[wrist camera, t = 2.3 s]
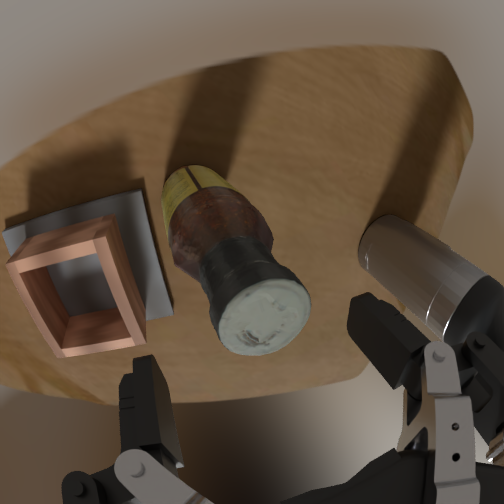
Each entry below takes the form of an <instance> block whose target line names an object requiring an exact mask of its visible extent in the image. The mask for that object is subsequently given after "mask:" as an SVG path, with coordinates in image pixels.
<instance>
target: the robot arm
mask: <svg viewBox="0 0 504 504" xmlns="http://www.w3.org/2000/svg"><path fill="white" fill-rule="evenodd" d="M358 257H359V262H360V264H361V266H362V267H363V268H364V269H365V270H366V271H367V272H368V273H369V274H370V275H372V276H373V277H374V278H375V279H376V280H377V281H378V282H379V283H380V284H382V285H383V286H384V287H385V288H386V289H387V290H388V291H389V292H391V293H392V294H393V295H394V296H395V297H396V298H397V299H398V300H399V301H401V302H402V303H403V304H404V305H405V306H406V307H407V308H408V309H409V310H410V311H411V312H412V313H414V314H415V315H416V316H417V317H418V318H419V319H420V320H421V321H422V322H423V323H424V324H425V325H426V326H427V327H428V328H430V329H431V330H432V331H433V332H434V333H435V334H436V335H437V336H438V337H439V338H440V339H441V340H442V341H443V342H441V341H434V342H431V341H430V340H429V339H428V338H427V337H425V336H424V335H423V334H422V333H421V332H420V331H419V330H418V329H417V328H416V327H415V326H414V325H413V324H412V323H411V322H410V321H409V320H407V319H406V317H404V315H402V314H400V312H399V311H398V310H397V309H396V308H395V307H394V306H393V305H391V304H389V303H387V302H385V301H383V300H378V299H377V298H376V297H375V296H374V295H373V294H371V293H370V292H366V293H364V294H361V295H358V296H356V297H353V298H352V299H351V302H350V308H349V314H348V320H347V330H348V333H349V335H350V337H351V338H352V340H353V341H354V342H355V343H356V345H357V346H358V347H359V348H360V349H361V351H362V352H363V353H364V354H365V355H366V357H367V358H368V359H369V360H370V361H371V363H372V364H373V365H374V366H375V368H376V369H377V370H378V371H379V373H381V375H382V376H383V377H384V379H385V380H386V381H387V382H388V384H389V385H390V386H391V387H392V389H393V390H394V389H396V388H398V387H399V386H401V385H403V386H404V387H405V390H404V396H403V397H404V399H403V427H402V432H401V435H400V438H399V441H398V445H397V451H396V450H395V448H393V449H391V450H390V451H388V452H386V453H385V454H383V455H382V456H380V457H378V458H376V459H374V460H373V461H371V462H369V464H367V465H366V466H365V467H364V468H363V469H362V470H361V471H359V472H358V473H357V474H356V475H355V476H353V477H352V478H351V479H350V480H349V481H348V482H346V483H343V484H340V485H335V486H331V487H326V488H321V489H315V490H311V491H308V492H306V493H303V494H300V495H298V496H295V497H292V498H290V499H287V500H284V501H281V502H280V504H504V287H503V286H502V285H501V284H500V283H499V282H498V281H496V280H495V279H494V278H492V277H491V276H489V275H488V274H487V273H485V272H484V271H482V270H481V269H479V268H478V267H476V266H475V265H474V264H472V263H471V262H469V261H468V260H466V259H465V258H463V257H462V256H460V255H459V254H457V253H456V252H454V251H453V250H451V248H450V247H449V246H448V245H446V244H445V243H443V242H441V241H440V240H439V239H437V238H435V237H434V236H432V235H430V234H429V233H427V232H425V231H424V230H422V229H420V228H419V227H417V226H415V225H414V224H412V223H410V222H408V221H407V220H402V219H401V218H399V217H397V216H395V215H385V216H382V217H380V218H378V219H377V220H376V221H374V222H373V223H372V224H371V225H370V226H369V228H368V229H367V230H366V232H365V234H364V236H363V237H362V240H361V243H360V246H359V251H358ZM119 400H120V401H119V409H120V412H119V417H120V435H121V453H120V456H119V457H118V458H117V459H116V462H115V463H114V464H113V465H112V466H111V467H109V468H107V469H104V470H102V471H99V472H97V473H94V474H91V475H88V474H86V473H84V472H81V471H74V472H71V473H69V474H67V475H66V477H65V478H64V479H63V482H62V497H63V504H214V503H212V502H211V501H209V500H207V499H206V498H205V497H203V496H202V495H200V494H199V493H197V492H196V491H194V490H193V489H192V488H190V487H189V486H187V485H186V484H185V483H183V482H182V481H181V480H180V479H179V477H178V473H177V469H176V468H179V467H184V463H183V459H182V455H181V450H180V446H179V441H178V436H177V431H176V426H175V421H174V416H173V410H172V404H171V398H170V393H169V388H168V385H167V382H166V380H165V377H164V375H163V373H162V371H161V370H160V368H159V366H158V363H157V361H156V359H155V357H154V356H153V355H147V356H142V357H137V358H133V373H129V374H124V376H123V378H122V380H121V382H120V385H119ZM474 427H475V428H476V429H477V431H478V432H479V433H480V435H481V436H482V438H483V439H484V440H485V442H486V443H487V444H488V446H489V451H488V452H487V454H486V459H487V460H488V461H493V464H486V463H479V462H475V438H474Z"/></svg>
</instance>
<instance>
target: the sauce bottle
mask: <svg viewBox="0 0 504 504" xmlns="http://www.w3.org/2000/svg"><path fill="white" fill-rule="evenodd" d="M161 203H162V209H163V217H164V223H165V228H166V233H167V238H168V243H169V247H170V250H171V252H172V255H173V259H174V264H175V266H176V267H178V268H180V269H181V270H182V271H184V272H185V273H187V274H188V275H190V276H191V277H193V278H194V279H196V280H197V281H198V282H199V283H201V286H202V288H203V290H204V292H205V293H206V294H207V297H208V299H209V302H210V310H209V314H210V318H211V322H212V324H213V326H214V329H215V330H216V332H217V335H218V338H219V340H220V341H221V342H222V344H223V345H224V346H225V347H226V348H227V349H228V350H230V351H232V352H235V353H238V354H241V355H263V354H269V353H272V352H275V351H277V350H279V349H281V348H283V347H284V346H286V345H287V344H288V343H289V342H291V341H292V340H293V339H294V338H295V337H296V336H297V335H298V334H299V333H300V331H301V330H302V328H303V327H304V325H305V324H306V322H307V320H308V318H309V315H310V309H311V299H310V295H309V293H308V291H307V289H306V288H305V287H304V285H303V284H302V283H301V281H300V280H299V279H298V278H297V277H296V275H295V274H294V273H293V272H291V271H290V270H289V269H288V268H287V267H284V266H282V265H280V264H279V263H278V262H277V261H276V260H275V259H274V257H273V255H272V253H271V249H272V245H273V240H274V239H273V236H272V232H271V230H270V228H269V226H268V225H267V223H266V221H265V219H264V217H263V216H262V214H261V213H260V212H259V210H257V209H256V208H255V207H254V206H253V205H252V204H251V203H250V202H249V201H248V199H247V198H246V197H245V196H243V195H242V194H241V193H240V192H239V191H238V190H236V189H235V188H234V187H233V186H232V185H230V184H229V183H228V182H227V181H226V180H224V179H223V178H222V177H221V176H220V175H218V174H217V173H216V172H214V171H213V170H211V169H209V168H207V167H204V166H199V165H189V166H182V167H180V168H179V169H177V170H175V171H174V172H173V173H172V174H171V175H170V177H169V178H168V179H167V181H166V182H165V183H164V186H163V191H162V196H161Z"/></svg>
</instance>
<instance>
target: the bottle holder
mask: <svg viewBox="0 0 504 504" xmlns="http://www.w3.org/2000/svg"><path fill="white" fill-rule="evenodd" d="M2 235H3V237H4V240H5V243H6V245H7V248H8V250H9V253H10V255H11V258H10V259H9V260H8V261H7V263H6V264H5V265H6V267H7V269H8V272H9V274H10V276H11V278H12V280H13V282H14V284H15V286H16V289H17V291H18V293H19V294H20V296H21V298H22V300H23V302H24V304H25V306H26V308H27V310H28V311H29V313H30V315H31V317H32V318H33V320H34V322H35V324H36V325H37V327H38V329H39V330H40V332H41V333H42V335H43V337H44V338H45V340H46V341H47V343H48V344H49V346H50V347H51V349H52V350H53V352H54V353H55V355H56V356H57V358H63V357H70V356H77V355H84V354H90V353H96V352H102V351H108V350H114V349H119V348H125V347H130V346H136V345H141V344H146V321H147V320H152V319H156V318H161V317H166V316H170V315H174V311H173V307H172V304H171V301H170V297H169V294H168V291H167V287H166V284H165V280H164V277H163V273H162V270H161V266H160V263H159V259H158V255H157V251H156V248H155V244H154V240H153V236H152V232H151V227H150V223H149V219H148V215H147V210H146V206H145V201H144V197H143V192H142V188H141V189H137V190H133V191H128V192H124V193H120V194H116V195H112V196H108V197H105V198H101V199H97V200H93V201H90V202H86V203H83V204H79V205H76V206H72V207H69V208H66V209H62V210H59V211H56V212H53V213H50V214H47V215H43V216H40V217H37V218H34V219H31V220H29V221H26V222H23V223H20V224H17V225H14V226H12V227H9V228H6V229H5V230H4V231H3V232H2Z"/></svg>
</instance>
